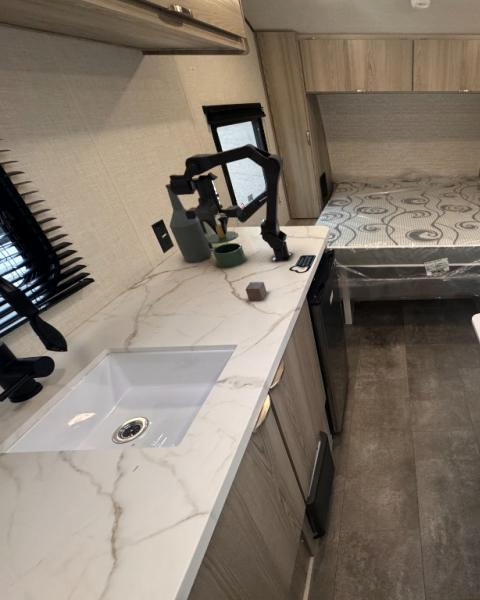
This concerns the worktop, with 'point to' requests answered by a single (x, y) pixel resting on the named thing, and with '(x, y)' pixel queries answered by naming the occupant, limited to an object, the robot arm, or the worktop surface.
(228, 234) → the lid
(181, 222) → the bottle
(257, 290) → the block
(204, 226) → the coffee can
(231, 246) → the tin
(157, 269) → the worktop surface
